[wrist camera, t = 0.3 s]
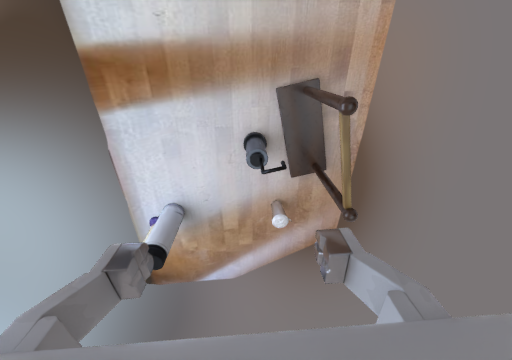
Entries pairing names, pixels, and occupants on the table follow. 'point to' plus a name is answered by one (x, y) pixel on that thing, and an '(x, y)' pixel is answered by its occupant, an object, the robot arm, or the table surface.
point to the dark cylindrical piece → (258, 153)
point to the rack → (316, 136)
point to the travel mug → (164, 234)
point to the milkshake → (278, 215)
